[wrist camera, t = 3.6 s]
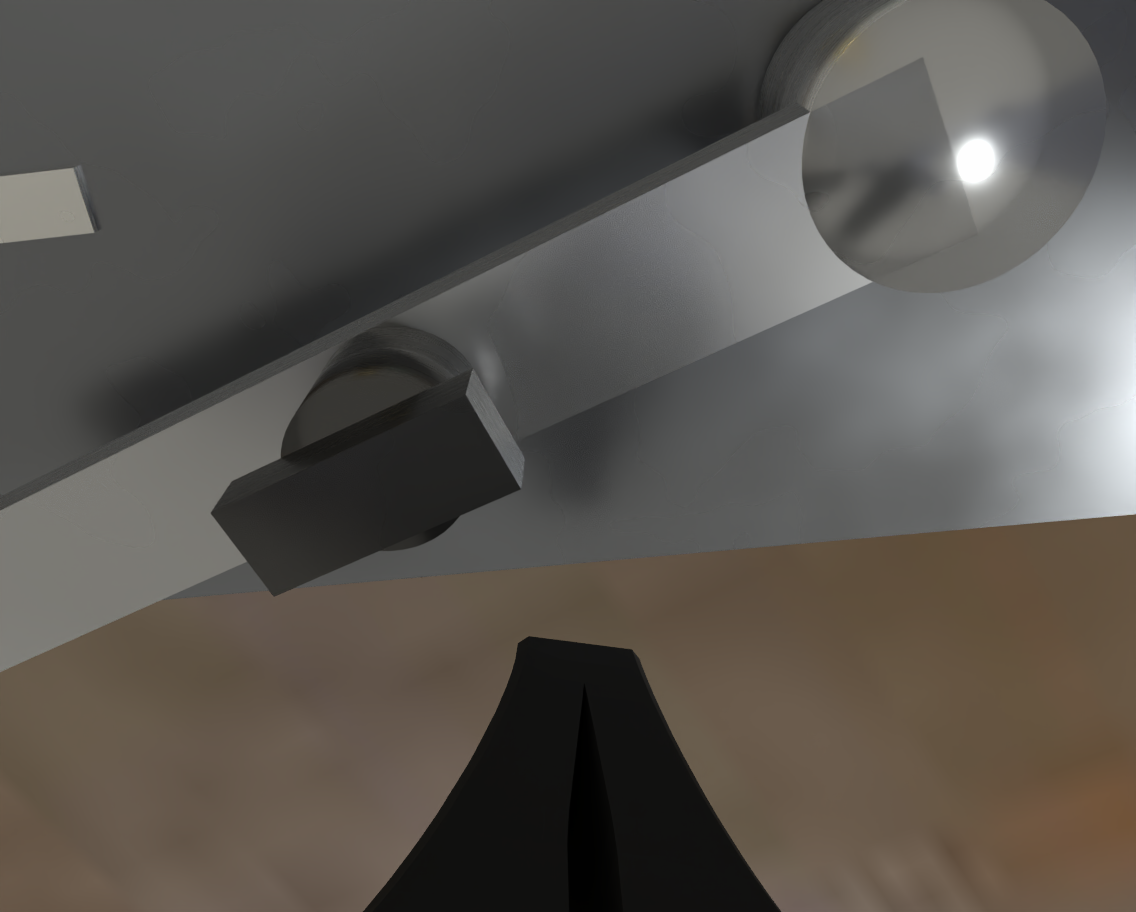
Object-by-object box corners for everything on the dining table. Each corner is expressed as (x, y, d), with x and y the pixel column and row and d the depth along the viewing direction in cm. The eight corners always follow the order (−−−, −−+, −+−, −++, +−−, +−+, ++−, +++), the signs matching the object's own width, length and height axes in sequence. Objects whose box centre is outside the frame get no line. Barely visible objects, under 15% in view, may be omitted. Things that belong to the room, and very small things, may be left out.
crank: (959, -72, 11) (1199, -89, 7) (1025, 164, 12) (1266, 279, 8) (-21, 434, 14) (-286, 645, 10) (107, 585, 15) (-80, 833, 11)
